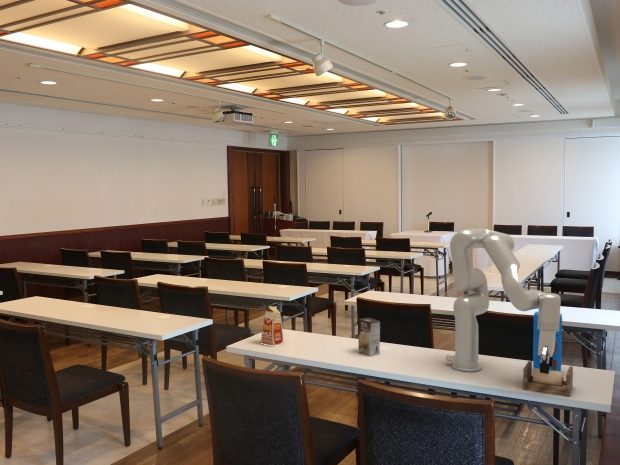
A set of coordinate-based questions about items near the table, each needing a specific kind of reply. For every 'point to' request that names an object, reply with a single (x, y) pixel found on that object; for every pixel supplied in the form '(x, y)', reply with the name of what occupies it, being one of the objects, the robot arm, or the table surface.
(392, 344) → the table surface
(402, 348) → the table surface
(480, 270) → the robot arm
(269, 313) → the milk carton
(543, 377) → the kraft roll
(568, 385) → the cradle
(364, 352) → the coffee box
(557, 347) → the thermos
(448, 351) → the table surface
